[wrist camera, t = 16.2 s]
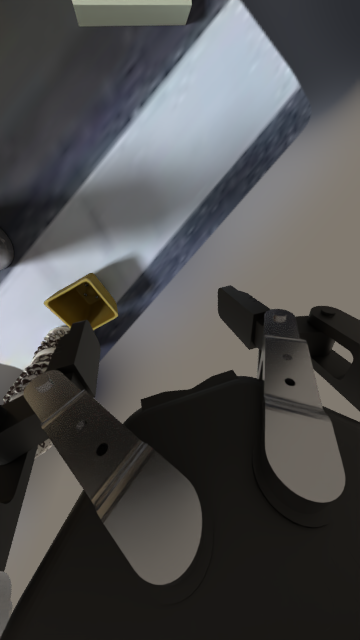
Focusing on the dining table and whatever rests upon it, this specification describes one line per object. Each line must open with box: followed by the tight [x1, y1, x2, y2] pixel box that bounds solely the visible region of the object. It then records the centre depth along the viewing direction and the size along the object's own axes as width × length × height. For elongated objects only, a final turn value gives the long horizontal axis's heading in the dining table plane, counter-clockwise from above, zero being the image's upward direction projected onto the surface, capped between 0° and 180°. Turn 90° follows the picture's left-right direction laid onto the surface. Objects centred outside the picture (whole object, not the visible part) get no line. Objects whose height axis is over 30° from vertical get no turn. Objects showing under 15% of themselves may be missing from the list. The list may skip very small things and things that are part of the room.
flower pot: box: [44, 273, 118, 330], centre depth 37 cm, size 9×9×9 cm
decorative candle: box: [1, 327, 70, 459], centre depth 34 cm, size 9×9×25 cm
